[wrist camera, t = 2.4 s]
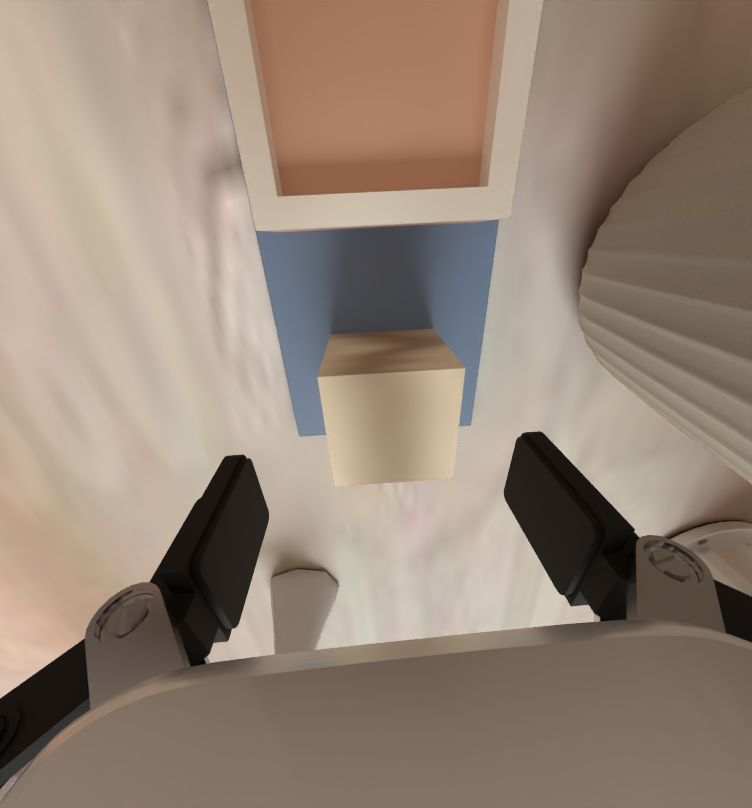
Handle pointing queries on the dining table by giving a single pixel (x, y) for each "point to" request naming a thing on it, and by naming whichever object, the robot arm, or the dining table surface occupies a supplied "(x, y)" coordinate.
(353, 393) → the birch block
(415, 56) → the multicoloured piece
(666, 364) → the canister
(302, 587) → the flask
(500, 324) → the dining table surface
